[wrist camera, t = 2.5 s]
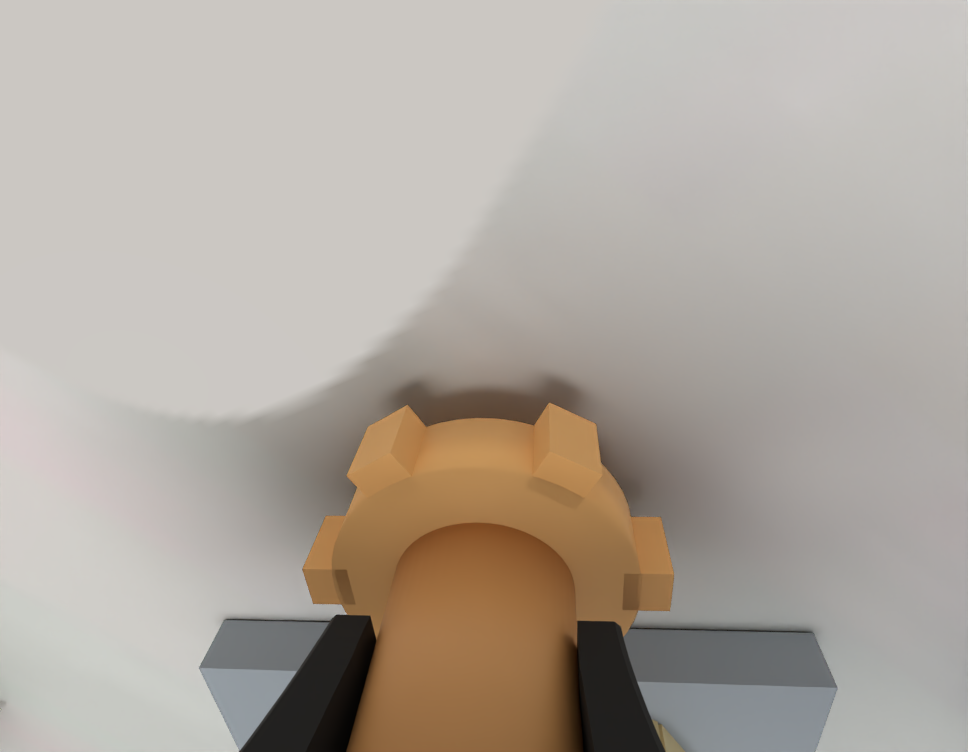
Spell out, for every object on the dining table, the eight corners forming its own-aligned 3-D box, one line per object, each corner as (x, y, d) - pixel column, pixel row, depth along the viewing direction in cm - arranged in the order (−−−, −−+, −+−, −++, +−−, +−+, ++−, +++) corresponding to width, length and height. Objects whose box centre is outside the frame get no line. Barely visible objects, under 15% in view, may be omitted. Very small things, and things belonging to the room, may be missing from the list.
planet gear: (671, 400, 11) (783, 732, 6) (649, 638, 14) (709, 986, 9) (296, 406, 12) (104, 704, 7) (357, 631, 15) (259, 946, 10)
